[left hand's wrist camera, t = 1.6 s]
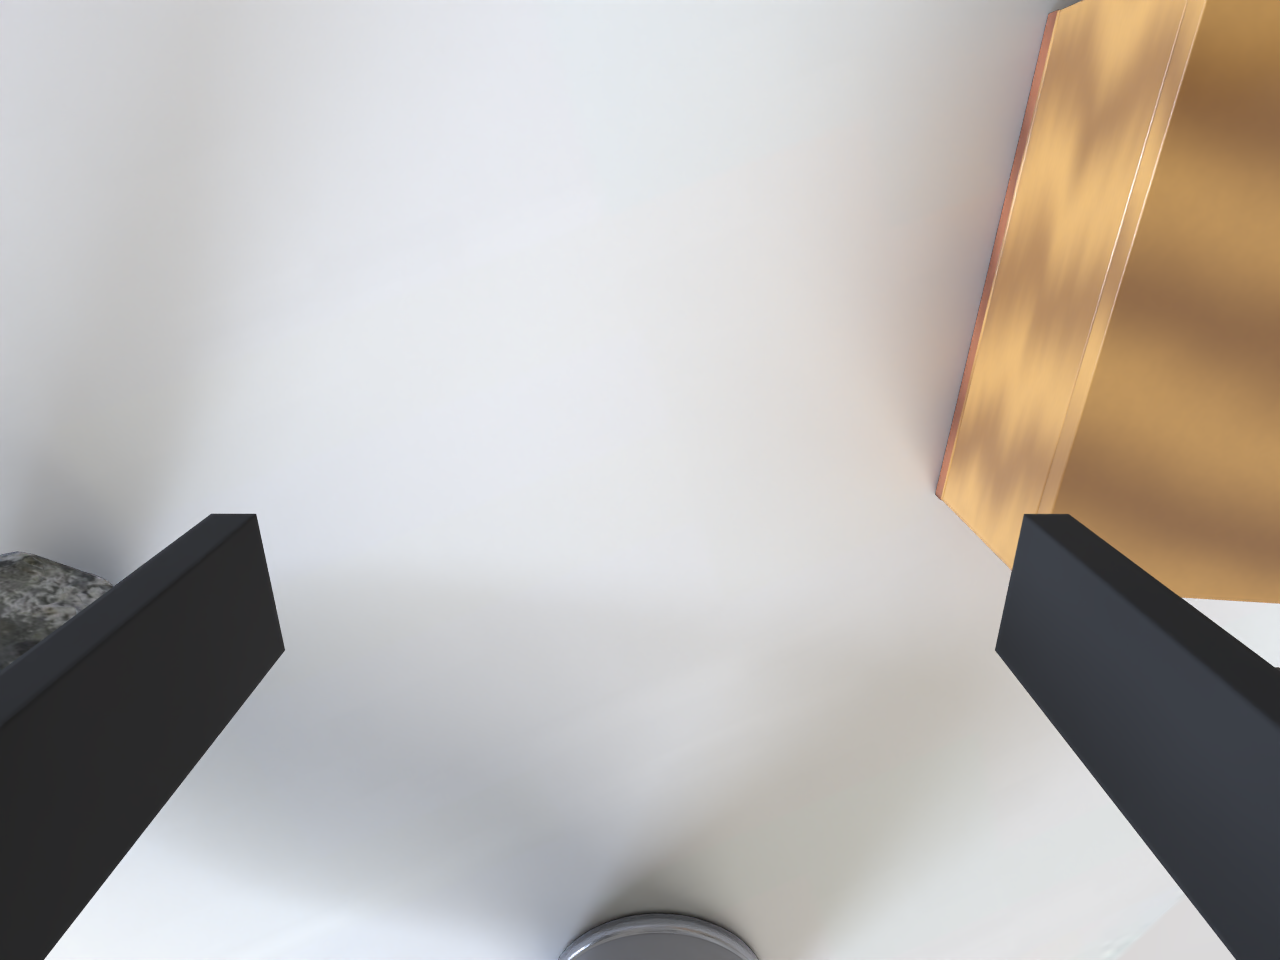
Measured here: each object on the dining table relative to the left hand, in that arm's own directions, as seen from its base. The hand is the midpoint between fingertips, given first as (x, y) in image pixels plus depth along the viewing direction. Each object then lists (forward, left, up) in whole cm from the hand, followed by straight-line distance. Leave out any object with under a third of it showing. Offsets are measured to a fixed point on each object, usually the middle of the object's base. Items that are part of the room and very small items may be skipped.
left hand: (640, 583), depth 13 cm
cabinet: (+2, -22, -24) cm, 32 cm away
